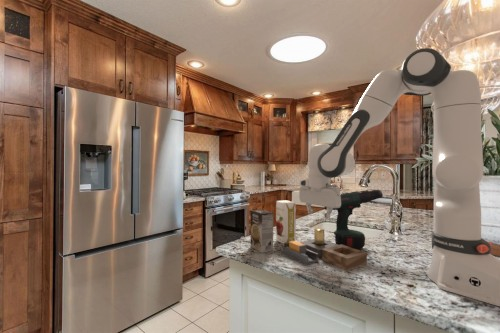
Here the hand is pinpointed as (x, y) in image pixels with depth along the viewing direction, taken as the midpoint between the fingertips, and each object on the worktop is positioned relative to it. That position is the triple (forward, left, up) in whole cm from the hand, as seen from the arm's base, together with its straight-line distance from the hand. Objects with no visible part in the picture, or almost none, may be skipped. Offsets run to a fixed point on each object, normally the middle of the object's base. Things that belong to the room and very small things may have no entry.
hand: (318, 215), depth 102 cm
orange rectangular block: (0, +12, -14) cm, 18 cm away
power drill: (-5, -15, -15) cm, 22 cm away
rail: (-1, +12, -15) cm, 19 cm away
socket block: (0, 0, -15) cm, 15 cm away
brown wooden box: (-13, +1, -15) cm, 20 cm away
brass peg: (0, 0, -15) cm, 15 cm away
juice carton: (+17, +4, -15) cm, 23 cm away
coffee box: (+15, +19, -15) cm, 28 cm away
